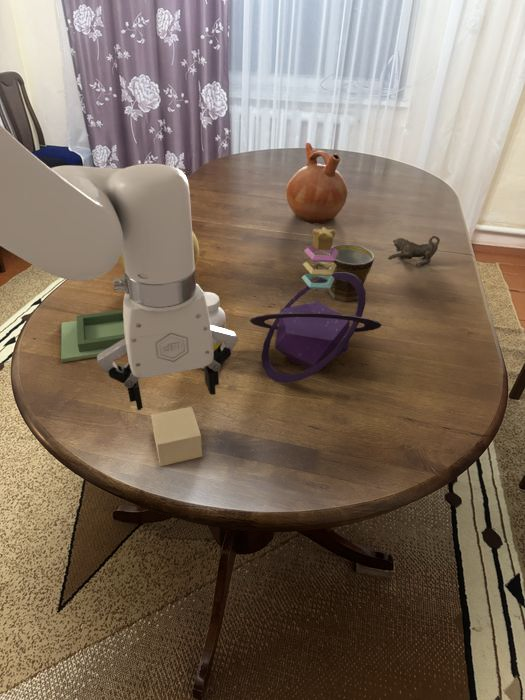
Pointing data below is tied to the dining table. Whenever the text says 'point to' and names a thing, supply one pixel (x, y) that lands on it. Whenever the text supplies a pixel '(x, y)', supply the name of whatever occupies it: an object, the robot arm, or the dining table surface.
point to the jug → (317, 188)
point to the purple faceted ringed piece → (314, 318)
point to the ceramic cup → (350, 269)
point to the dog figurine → (415, 250)
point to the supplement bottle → (215, 315)
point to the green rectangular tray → (91, 335)
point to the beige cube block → (176, 436)
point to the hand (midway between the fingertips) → (175, 395)
